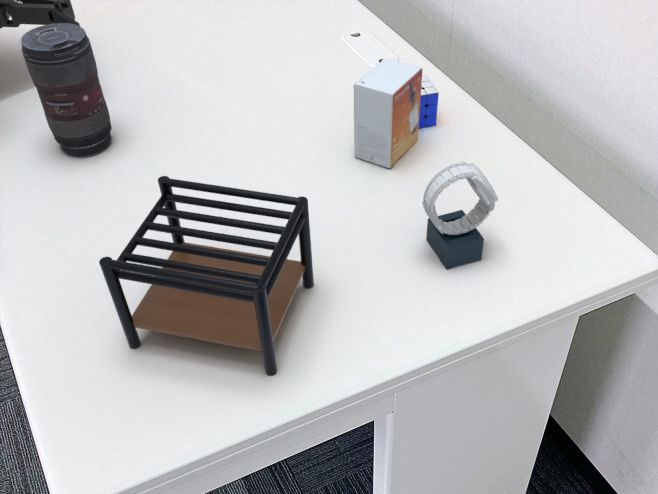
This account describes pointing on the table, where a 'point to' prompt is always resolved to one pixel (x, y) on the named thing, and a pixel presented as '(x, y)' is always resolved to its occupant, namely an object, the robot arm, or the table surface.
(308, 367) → the table surface
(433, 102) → the rubik's cube
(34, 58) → the camera lens
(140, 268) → the slatted rack
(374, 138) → the small box
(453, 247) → the watch
